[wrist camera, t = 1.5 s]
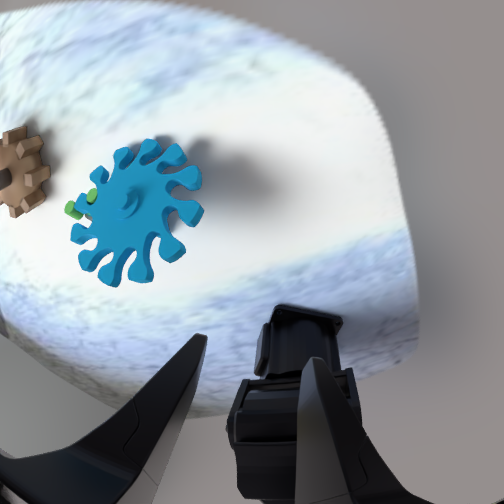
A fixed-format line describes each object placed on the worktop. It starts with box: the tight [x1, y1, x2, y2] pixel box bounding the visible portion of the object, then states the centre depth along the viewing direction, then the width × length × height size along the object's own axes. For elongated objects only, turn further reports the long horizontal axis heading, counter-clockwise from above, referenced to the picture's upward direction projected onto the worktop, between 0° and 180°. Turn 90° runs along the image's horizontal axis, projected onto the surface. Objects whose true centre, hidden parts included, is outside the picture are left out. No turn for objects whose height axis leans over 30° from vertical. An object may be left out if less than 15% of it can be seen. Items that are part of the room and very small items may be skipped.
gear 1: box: [0, 127, 50, 218], centre depth 16 cm, size 9×9×6 cm
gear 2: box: [65, 139, 204, 287], centre depth 18 cm, size 11×6×10 cm
